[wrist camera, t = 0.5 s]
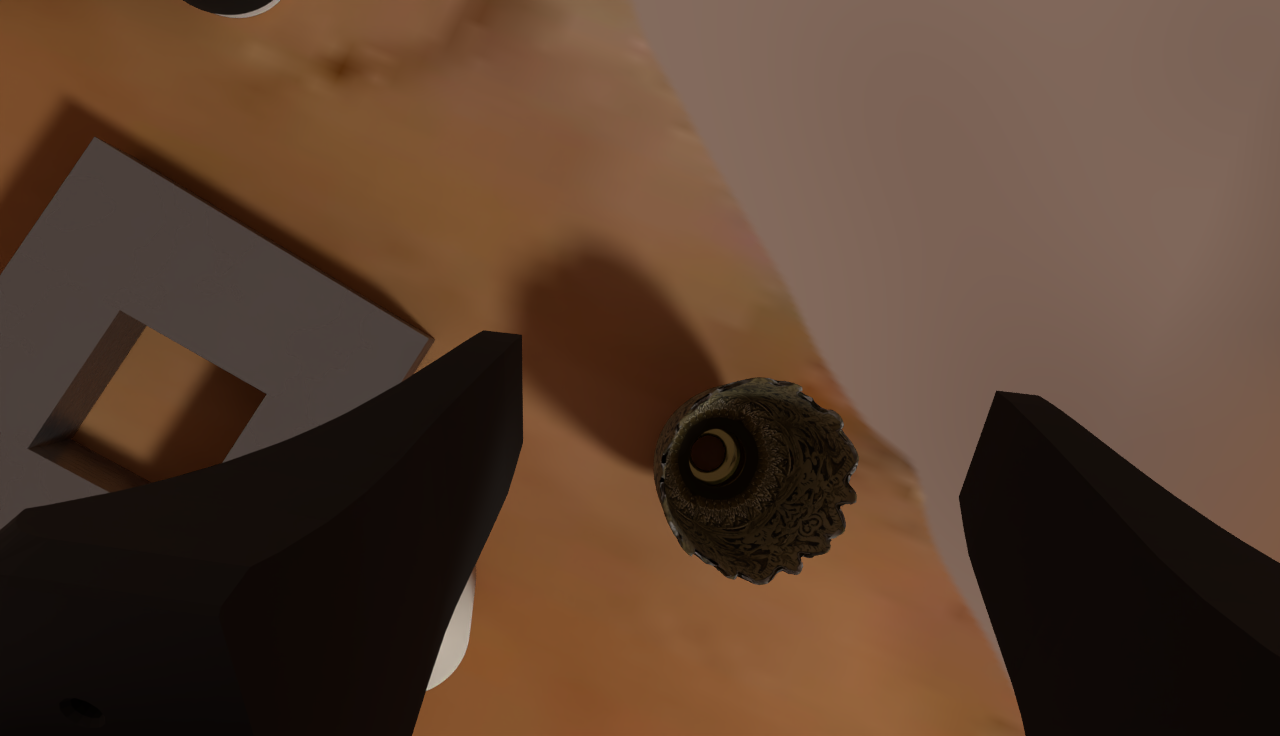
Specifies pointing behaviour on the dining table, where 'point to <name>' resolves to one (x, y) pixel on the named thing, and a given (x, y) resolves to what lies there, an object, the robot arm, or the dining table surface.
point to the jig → (169, 324)
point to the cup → (756, 478)
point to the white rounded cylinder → (455, 636)
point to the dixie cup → (234, 7)
